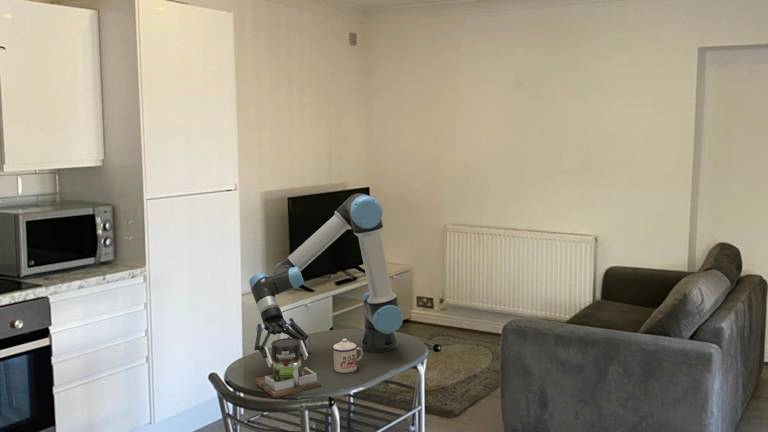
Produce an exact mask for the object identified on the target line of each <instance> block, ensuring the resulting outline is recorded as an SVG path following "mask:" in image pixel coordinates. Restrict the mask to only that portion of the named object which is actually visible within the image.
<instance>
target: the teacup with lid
mask: <svg viewBox="0 0 768 432" xmlns="http://www.w3.org/2000/svg"><path fill="white" fill-rule="evenodd" d="M332 350H333V366H334V367H333V369H334V371H335V372H337V373H342V374H344V373H345V374H347V373H352V372H355V371H356V370H357V369H358V361H360V360H361V359H362V357H363V354H364V353H363V351H364V350H363V349H362V348H361V347H358V346H357V344H356V343H354V342H351V341H349V340H348V339H347V338H342V339H341V340H340V341H339V342H338V343H335V344H334V345H333V347H332ZM358 351H359V355H358V354H357V353H358Z"/></svg>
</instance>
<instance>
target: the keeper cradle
mask: <svg viewBox="0 0 768 432" xmlns="http://www.w3.org/2000/svg"><path fill="white" fill-rule="evenodd" d="M292 368H293V378H292V379H288V380H283V381H279V382H275V381H274V380H273V379H271V378H270V377H269V375H264V376H265V385H267V386H268V387H269V388H271V389H272V390H273V391H275V392H277V391H281V390H285V389H290V388H298V387H299V386H303V385H307V384H311V383H316V382H317V380H318V374H317V373H316V372H315V371H313V370H312V369H309V368H308V367H306V366H305V367H303V371H304V376H301V377H299V376H298V368H299V365H298V363H293V364H292Z"/></svg>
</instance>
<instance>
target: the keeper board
mask: <svg viewBox="0 0 768 432" xmlns="http://www.w3.org/2000/svg"><path fill="white" fill-rule="evenodd" d="M265 376H266V375H264V376H261V377H256V378H254V384H255V385H257V384H258V385H259V386H258V385H257V386H258V387H260V388H261V389H262V388H263V389H264V390H263V389H262V390H263V391H264V392H266V393H267V394H269V395H270V396H271V397H273V398H277V397H281V396H285V395H286V396H287V395H291V394H294V393H299V392H303V391H307V390H311V389H316V388H320V387H322V382H321V381H319V379H317V382H316V383H311V384H307V385H303V386H299V387H298V388H290V389H285V390H281V391H277V392H275V391H273V390H272V389H271V388H269V387H268V386H267V385H265ZM268 376H269V377H270V378H271V379H273V380H274V375H273V374H269V375H268ZM302 376H304V369H302Z"/></svg>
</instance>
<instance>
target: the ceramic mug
mask: <svg viewBox="0 0 768 432" xmlns="http://www.w3.org/2000/svg"><path fill="white" fill-rule="evenodd" d="M286 338H292V337H290V336H287V337H286ZM305 343H306V345H307V349H306V351H307V353H309V351H310V350H311V340H310V338H309V337H308V338H307V340H306V341H305ZM301 355H302V352H301Z"/></svg>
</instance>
